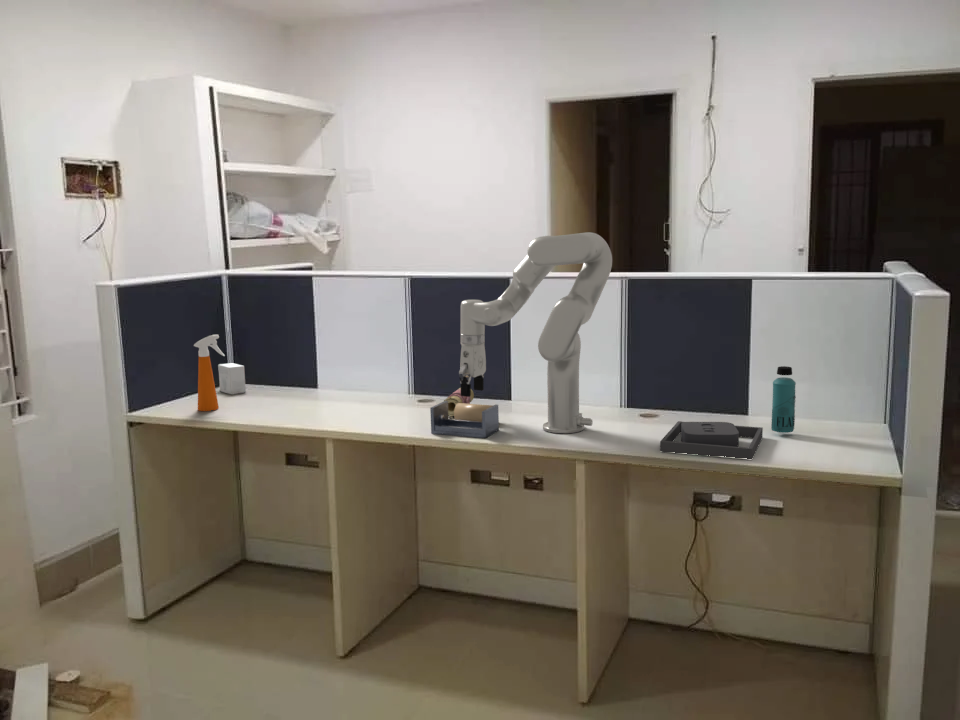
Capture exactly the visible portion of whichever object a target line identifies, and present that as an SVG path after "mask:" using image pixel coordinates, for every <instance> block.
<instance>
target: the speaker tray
mask: <svg viewBox="0 0 960 720" xmlns="http://www.w3.org/2000/svg"><path fill="white" fill-rule="evenodd" d="M683 422H684V421H677V422H676V423H675V424H673V427H672V428H671V429H669V431H668V432H667V433H666V434H665V435H664V437H662V438H661V440H660V443H659V452H660V451H663V452H662V453H665V452H675V453H674V454H676V453H687V454H698V455H708V456H707V457H709V455H710V456H724V457H725V456H726V457H735V458H747V459H752V458H754V457H755V455H754V454H756V452H757V450H758V448H759V446H758V445H760V443H761V441H762V440H761V439H763V431H764V430H763V429H764V428H763V427H762V426H761V427H759V426H746V425H745V426H744V425H735V424H734V426H735V427H736V429H737V430H738V432H739V436H742V437H741V438H748V437H752V438H751V439H752V440H751V442H750V444H749V446H748V447H743V446H739V447H733V446H721V445H709V444H697V443H685V442H681V441H675V440H676V438H677V437H678V436H679V435H680V434H681V423H683ZM679 433H680V434H679ZM674 439H675V440H674ZM673 440H674V441H673ZM757 447H758V448H757ZM755 451H756V452H755ZM687 454H686V455H687ZM698 455H697V456H698ZM753 456H754V457H753ZM752 460H753V459H752Z"/></svg>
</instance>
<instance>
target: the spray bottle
mask: <svg viewBox="0 0 960 720" xmlns="http://www.w3.org/2000/svg"><path fill="white" fill-rule="evenodd" d="M219 335H220V334H212V335H211V334H210V335H207V336H206V337H203V338H202V339H200V340H198V341H196V342H195V343H194V344H193V347H195V348H198V354H197V355H198V361H197V362H198V363H197V364H198V370H197V371H198V372H197V374H198V376H197V411H199V412H212V411H211V410H213V411H215V410H218V409H219V408H220V407H219V402H218V396H217V389H216V386H215V380H214V379H215V378H214V374H213V368H212V362H211V357H210V351H209V350H210V349H209V347H211V348H212V349H213V350H215V351H216V352H217V353H218V354H219V355H221V356H223V357H225V356H226V355H225V354H224V353H223V351H222V350H221V349H220V348H219V346H218V341H217V340H218V339H219V338H220V336H219Z"/></svg>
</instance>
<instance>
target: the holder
mask: <svg viewBox="0 0 960 720" xmlns="http://www.w3.org/2000/svg"><path fill="white" fill-rule="evenodd" d="M443 401H444V400H443ZM443 401H442V402H439V403H438V404H435V405H433V406H431V407H429V409H430V430H431V431H430V433H431V434H434V435H443V436H444V435H445V436H452V437H453V436H454V437H467V438H475V439H476V438H478V439H487V438H489V437H490V436H492V435H493V434H495V433H497V432H498V431H500V420H499V419H500V418H499V404H494V405H493V406H492V407H490V408H488V409H486V410H484V411H482V422H481V421H469V420H457V419H455V418H450V417H449V415H448V401H444V402H443Z"/></svg>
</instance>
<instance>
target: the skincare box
mask: <svg viewBox="0 0 960 720" xmlns="http://www.w3.org/2000/svg"><path fill="white" fill-rule="evenodd" d="M217 368H218V380H219V392H222V393H224V394H225V393H226V394H228V395H235V394H243V393H246V392H247V391H246V374H245V371H246V370H245V365H242V364H239V363H234V362H230V363H229V362H227V363H219V364H218V365H217Z"/></svg>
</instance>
